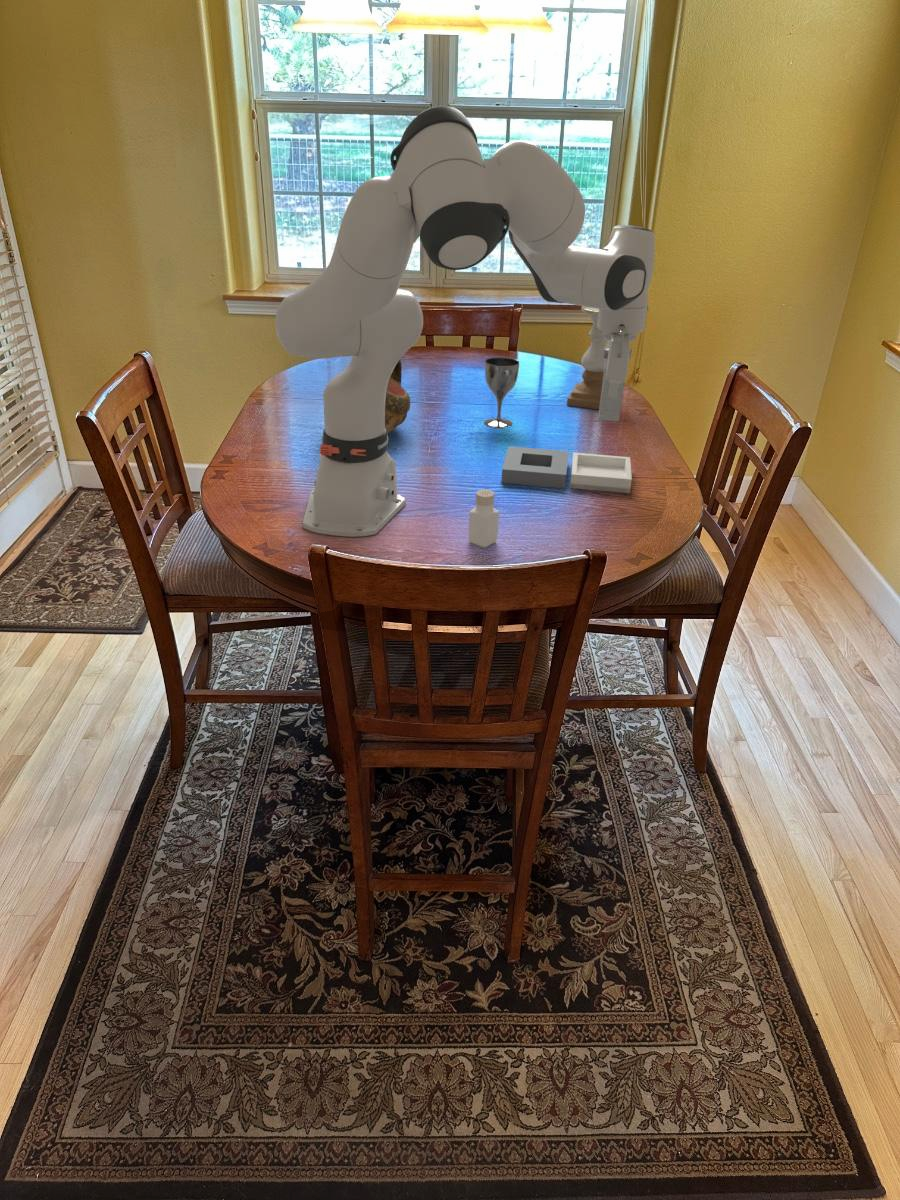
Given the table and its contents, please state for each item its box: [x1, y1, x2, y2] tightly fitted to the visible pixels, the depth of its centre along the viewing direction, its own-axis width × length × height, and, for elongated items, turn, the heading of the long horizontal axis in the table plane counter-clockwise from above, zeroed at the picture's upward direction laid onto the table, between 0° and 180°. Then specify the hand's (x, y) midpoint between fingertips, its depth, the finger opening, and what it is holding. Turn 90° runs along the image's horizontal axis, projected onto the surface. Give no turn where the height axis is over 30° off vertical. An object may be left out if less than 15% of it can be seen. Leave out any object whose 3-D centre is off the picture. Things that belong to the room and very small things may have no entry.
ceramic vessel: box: [385, 359, 412, 435], centre depth 179 cm, size 17×26×25 cm, turn 161°
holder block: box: [501, 446, 570, 489], centre depth 168 cm, size 13×13×3 cm
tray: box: [569, 452, 633, 494], centre depth 167 cm, size 12×12×3 cm
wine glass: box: [483, 356, 520, 429], centre depth 191 cm, size 8×8×15 cm
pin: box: [598, 345, 633, 422], centre depth 157 cm, size 5×5×14 cm
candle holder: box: [566, 306, 606, 411], centre depth 204 cm, size 11×11×24 cm
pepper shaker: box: [467, 488, 500, 548], centre depth 140 cm, size 4×4×10 cm
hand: (611, 392), depth 158 cm, fingers closed on pin, 4 cm apart
